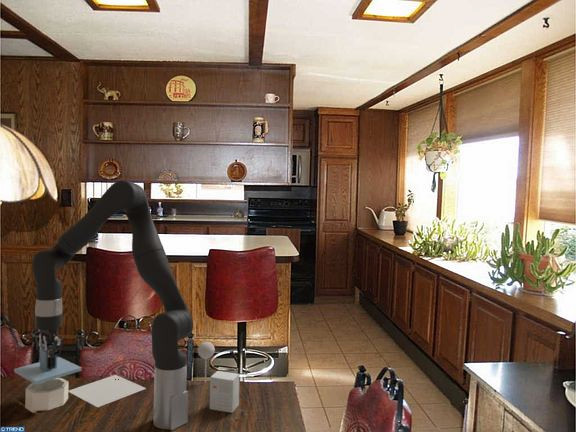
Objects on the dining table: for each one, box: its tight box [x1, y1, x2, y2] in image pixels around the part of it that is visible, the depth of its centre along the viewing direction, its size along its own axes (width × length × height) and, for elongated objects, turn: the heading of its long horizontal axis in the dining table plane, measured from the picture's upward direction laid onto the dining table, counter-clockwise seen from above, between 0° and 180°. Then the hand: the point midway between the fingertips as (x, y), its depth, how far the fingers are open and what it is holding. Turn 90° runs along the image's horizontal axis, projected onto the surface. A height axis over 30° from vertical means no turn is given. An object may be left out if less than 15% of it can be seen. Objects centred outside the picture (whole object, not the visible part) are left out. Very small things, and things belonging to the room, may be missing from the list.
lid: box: [13, 349, 83, 384], centre depth 141 cm, size 14×14×7 cm
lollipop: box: [197, 341, 216, 384], centre depth 161 cm, size 6×6×15 cm
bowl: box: [24, 377, 69, 414], centre depth 141 cm, size 11×11×6 cm
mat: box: [68, 374, 147, 408], centre depth 151 cm, size 18×18×1 cm
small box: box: [209, 370, 240, 414], centre depth 143 cm, size 8×6×10 cm
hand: (48, 366), depth 141 cm, fingers closed on lid, 3 cm apart
